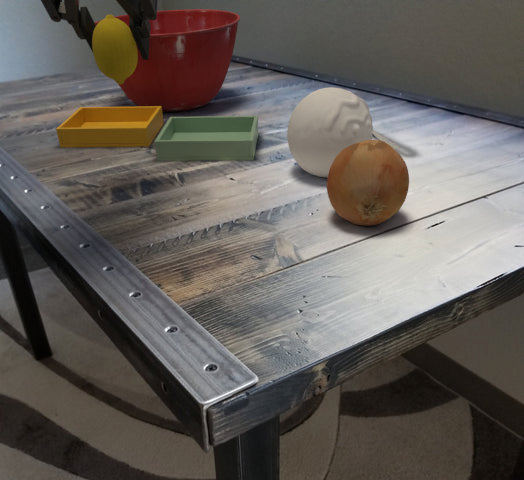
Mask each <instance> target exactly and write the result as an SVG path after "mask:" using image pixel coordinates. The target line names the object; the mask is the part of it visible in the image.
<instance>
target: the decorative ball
mask: <svg viewBox="0 0 524 480" xmlns="http://www.w3.org/2000/svg"><path fill="white" fill-rule="evenodd" d="M373 130H374V128H373V118H372V115H371V113H370V108H369V105H368V103H367V102H366V101H365V100H364V99H363V98H362V97H360V96H358V95H357V94H355V93H353V92H351V91H349V90H347V89H345V88H340V87H332V86H331V87H330V86H329V87H323V88H319V89H316V90H314V91H312V92H310V93H308V94H307V95H306V96H304V97H303V98H302V99H301V100H300V101H299V102H298V103H297V104H296V106H295V107H294V109H293V111H292V112H291V115H290V117H289V120H288V124H287V131H286V132H287V133H286V136H287V137H286V138H287V145H288V149H289V151H290V154H291V156H292V158H293V160H294V161H295V162H296V163H297V165H298V166H299V167H300V168H301V169H302V170H304V171H305V172H307V173H308V174H310V175H311V176H312V175H313V176H315V177H318V178H323V179H324V178H325V179H327V178H328V174H329V170H330V167H331V165H332V163H333V161H334V159H335V158H336V156H337V155H338V154H339V153H340V152H341V151H342V150H343V149H345V148H346V147H348V146H350V145H352V144H355V143H358V142H361V141H365V140H373V134H372V131H373Z"/></svg>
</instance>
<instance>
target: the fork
mask: <svg viewBox="0 0 524 480" xmlns="http://www.w3.org/2000/svg"><path fill="white" fill-rule="evenodd" d="M372 136H374V137H375V138H376V139H377V140H380V141H384V142H386V143H387V144H389V145H390V146H391V147H392V148H393V149H395V150H400V146H399V145H398V144H396V143H394V142H393V141H391V140H389V139H388V138H386V137H384V136H383V135H381V134H379V133H378V132H377V131H375V130H374V129H373V131H372Z"/></svg>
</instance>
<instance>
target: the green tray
mask: <svg viewBox="0 0 524 480" xmlns="http://www.w3.org/2000/svg"><path fill="white" fill-rule="evenodd" d="M258 138H259V116H258V115H215V116H214V115H213V116H212V115H211V116H208V115H207V116H205V115H204V116H202V115H201V116H170V117H169V118H168V119H167V121H166V122H165V123H164V125H163V126H162V128H161V129H160V131H159V134H157V137H155V139H154V146H155V155H156V161H157V162H182V161H183V162H191V161H192V162H195V161H196V162H197V161H202V162H203V161H206V162H207V161H210V162H211V161H212V162H213V161H254V160H255V159H254V158H255V154H256V148H257V145H258V144H257V143H258Z"/></svg>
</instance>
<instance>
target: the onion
mask: <svg viewBox="0 0 524 480" xmlns="http://www.w3.org/2000/svg"><path fill="white" fill-rule="evenodd" d="M409 173H410V172H409V169H408V165H407V163H406V161H405V159H404V158H403V157H402V155H401V154H400V153H399V152H398V151H397V149H394V148H392V147H391V146H390V145H389V144H387V143H386V142H384V141H380V140H379V139H372V140H365V141H361V142H358V143H355V144H352V145H350V146H348V147H346V148H345V149H343V150H342V151H341V152H340V153H339V154H338V155H337V156H336V158H335V159H334V161H333V163H332V165H331V167H330V170H329V174H328V178H326V192H327V195H328V200H329V203H330V205H331V207H332V208H333V210H334V211H335V212H336V213H337V215H339V217H341V218H342V219H344V220H345V221H347V222H349V223H351V224H353V225H359V226H367V227H370V226H377V225H380V224H382V223H384V222H386V221H387V220H389V219H391V218H392V217H393V216H395V215H396V214H397V213H398V212H399V211H400V209H402V207H403V205H404V203H405V202H406V199H407V196H408V192H409V188H410V174H409Z"/></svg>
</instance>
